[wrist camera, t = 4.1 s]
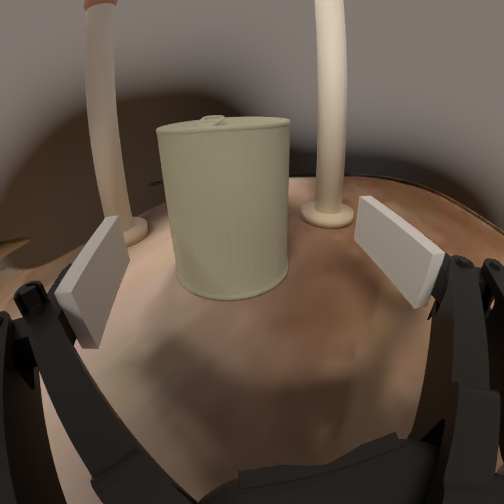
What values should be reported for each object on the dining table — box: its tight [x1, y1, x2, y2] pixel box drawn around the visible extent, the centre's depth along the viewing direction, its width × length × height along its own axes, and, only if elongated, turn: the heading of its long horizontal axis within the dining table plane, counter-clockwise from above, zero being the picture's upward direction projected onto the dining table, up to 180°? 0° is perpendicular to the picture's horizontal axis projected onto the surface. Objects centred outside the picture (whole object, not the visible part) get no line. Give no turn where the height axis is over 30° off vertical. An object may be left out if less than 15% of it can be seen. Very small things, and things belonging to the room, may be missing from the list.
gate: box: [84, 0, 354, 247], centre depth 23 cm, size 29×6×28 cm, turn 99°
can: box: [156, 115, 291, 300], centre depth 21 cm, size 9×9×12 cm
